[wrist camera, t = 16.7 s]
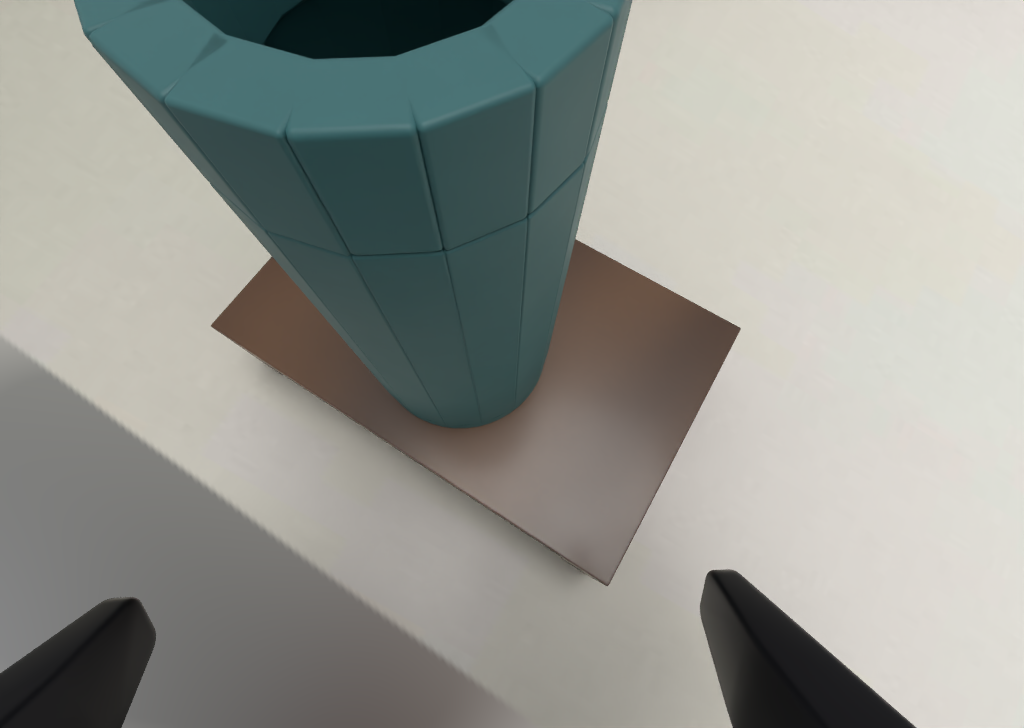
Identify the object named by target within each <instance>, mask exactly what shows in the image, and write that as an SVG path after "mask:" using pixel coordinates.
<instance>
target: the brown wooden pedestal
mask: <svg viewBox="0 0 1024 728" xmlns="http://www.w3.org/2000/svg"><path fill="white" fill-rule="evenodd" d="M211 327H213V328H214V329H215V330H217V331H218V332H220V333H221V334H223V335H224V336H226V337H227V338H229V339H230V340H231V341H233V342H234V343H236V344H237V345H239V346H240V347H242V348H243V349H245V350H246V351H247V352H249V353H250V354H252V355H253V356H255V357H256V358H258V359H259V360H261V361H262V362H263V363H265V364H267V365H268V366H270V367H271V368H273V369H274V370H276V371H277V372H279V373H280V374H282V375H285V376H286V377H288V378H290V379H291V380H293V381H294V382H296V383H297V384H299V385H300V386H302V387H303V388H305V389H306V390H308V391H309V392H311V393H312V394H314V395H315V396H317V397H318V398H320V399H322V400H323V401H325V402H326V403H328V404H329V405H331V406H332V407H334V408H335V409H337V410H338V411H340V412H341V413H343V414H344V415H346V416H347V417H349V418H350V419H352V420H354V421H355V422H357V423H358V424H360V425H361V426H363V427H364V428H366V429H367V430H369V431H370V432H372V433H373V434H375V435H376V436H378V437H379V438H381V439H382V440H384V441H386V442H387V443H389V444H390V445H392V446H393V447H395V448H396V449H398V450H399V451H401V452H402V453H404V454H405V455H407V456H408V457H410V458H411V459H413V460H414V461H416V462H418V463H419V464H421V465H422V466H424V467H425V468H427V469H428V470H430V471H431V472H433V473H434V474H436V475H437V476H439V477H440V478H442V479H443V480H445V481H446V482H448V483H450V484H451V485H453V486H454V487H456V488H457V489H459V490H460V491H462V492H463V493H465V494H466V495H468V496H469V497H471V498H472V499H474V500H475V501H477V502H478V503H480V504H482V505H483V506H485V507H486V508H488V509H489V510H491V511H492V512H494V513H495V514H497V515H498V516H500V517H501V518H503V519H504V520H506V521H507V522H509V523H510V524H512V525H514V526H515V527H517V528H518V529H520V530H521V531H523V532H524V533H526V534H527V535H529V536H530V537H532V538H533V539H535V540H536V541H538V542H539V543H541V544H542V545H544V546H546V547H547V548H549V549H550V550H552V551H553V552H555V553H556V554H558V555H559V556H561V558H562V559H563V560H565V561H566V562H568V563H570V564H571V565H573V566H574V567H576V568H577V569H579V570H580V571H582V572H583V573H585V574H586V575H588V576H590V577H592V578H593V579H595V580H597V581H599V582H600V583H602V584H604V585H606V586H608V585H609V584H610V582H611V580H612V578H613V576H614V574H615V572H616V570H617V568H618V566H619V564H620V562H621V560H622V558H623V556H624V554H625V553H626V551H627V549H628V547H629V545H630V543H631V541H632V539H633V537H634V535H635V533H636V531H637V529H638V527H639V525H640V523H641V522H642V520H643V518H644V516H645V514H646V512H647V510H648V508H649V506H650V504H651V502H652V500H653V498H654V496H655V494H656V492H657V490H658V489H659V487H660V485H661V483H662V481H663V479H664V477H665V475H666V473H667V471H668V469H669V467H670V465H671V463H672V461H673V459H674V458H675V456H676V454H677V452H678V450H679V448H680V446H681V444H682V442H683V440H684V438H685V436H686V434H687V432H688V430H689V428H690V426H691V425H692V423H693V421H694V419H695V417H696V415H697V413H698V411H699V409H700V407H701V405H702V403H703V401H704V399H705V397H706V395H707V394H708V392H709V390H710V388H711V386H712V384H713V382H714V380H715V378H716V376H717V374H718V372H719V370H720V368H721V366H722V364H723V362H724V361H725V359H726V357H727V355H728V353H729V351H730V349H731V347H732V345H733V343H734V341H735V339H736V337H737V335H738V333H739V331H740V329H741V328H739V327H737V326H736V325H734V324H732V323H730V322H728V321H726V320H724V319H723V318H721V317H719V316H717V315H715V314H713V313H711V312H710V311H708V310H706V309H704V308H702V307H700V306H698V305H697V304H695V303H693V302H691V301H689V300H687V299H685V298H684V297H682V296H680V295H678V294H676V293H674V292H672V291H671V290H669V289H667V288H665V287H663V286H661V285H659V284H658V283H656V282H654V281H652V280H650V279H648V278H646V277H645V276H643V275H641V274H639V273H637V272H635V271H633V270H632V269H630V268H628V267H626V266H624V265H622V264H620V263H619V262H617V261H615V260H613V259H611V258H609V257H607V256H606V255H604V254H602V253H600V252H598V251H596V250H594V249H592V248H591V247H589V246H587V245H585V244H583V243H581V242H579V241H578V240H576V239H575V242H574V246H573V250H572V254H571V258H570V262H569V267H568V271H567V275H566V279H565V283H564V287H563V291H562V296H561V300H560V304H559V308H558V312H557V316H556V321H555V325H554V329H553V333H552V337H551V341H550V346H549V350H548V353H547V356H546V359H545V362H544V366H543V369H542V373H541V375H540V378H539V380H538V382H537V384H536V386H535V387H534V389H533V391H532V392H531V393H530V395H529V396H528V397H527V398H526V400H525V401H524V402H523V403H522V404H521V405H520V406H519V407H517V408H516V409H515V410H513V411H512V412H511V413H509V414H508V415H506V416H504V417H503V418H501V419H499V420H497V421H494V422H492V423H489V424H486V425H482V426H478V427H471V428H449V427H442V426H439V425H435V424H431V423H429V422H427V421H424V420H422V419H420V418H418V417H417V416H415V415H413V414H412V413H410V412H409V411H408V410H407V409H405V408H404V407H403V406H402V405H401V404H400V403H399V402H398V401H397V400H396V399H395V398H394V397H393V396H392V395H391V394H390V393H389V392H388V391H387V390H386V389H385V388H384V386H383V385H382V384H381V383H380V382H379V381H378V379H377V378H376V377H375V376H374V375H373V374H372V372H371V371H370V370H369V369H368V368H367V367H366V365H365V364H364V363H363V362H362V361H361V360H360V358H359V357H358V356H357V355H356V354H355V353H354V351H353V350H352V349H351V348H350V347H349V346H348V344H347V343H346V342H345V341H344V340H343V339H342V337H341V336H340V335H339V334H338V333H337V332H336V330H335V329H334V328H333V327H332V326H331V325H330V323H329V322H328V321H327V320H326V319H325V318H324V316H323V315H322V314H321V313H320V312H319V311H318V309H317V308H316V307H315V306H314V305H313V304H312V302H311V301H310V300H309V299H308V298H307V297H306V295H305V294H304V293H303V292H302V291H301V289H300V288H299V287H298V286H297V285H296V284H295V282H294V281H293V280H292V279H291V278H290V277H289V275H288V274H287V273H286V272H285V271H284V270H283V268H282V267H281V266H280V265H279V264H278V263H277V261H276V260H275V259H274V258H273V257H271V258H270V259H269V261H268V262H267V263H266V264H265V265H264V266H263V267H262V268H261V270H260V271H259V272H258V273H257V274H256V275H255V276H254V277H253V279H252V280H251V281H250V282H249V283H248V284H247V285H246V286H245V288H244V289H243V290H242V291H241V292H240V293H239V294H238V295H237V297H236V298H235V299H234V300H233V301H232V302H231V303H230V304H229V306H228V307H227V308H226V309H225V310H224V311H223V312H222V313H221V315H220V316H219V317H218V318H217V319H216V320H215V321H214V322H213V324H212V325H211Z"/></svg>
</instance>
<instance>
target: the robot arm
mask: <svg viewBox="0 0 1024 728" xmlns="http://www.w3.org/2000/svg"><path fill="white" fill-rule="evenodd" d="M700 614H701V619H702V623H703V627H704V630H705V634H706V637H707V641H708V644H709V648H710V651H711V655H712V658H713V662H714V665H715V669H716V672H717V676H718V679H719V683H720V686H721V690H722V693H723V697H724V700H725V704H726V707H727V711H728V714H729V717H730V720H731V724H732V726H733V728H916V727H915V726H914V725H913V724H911V723H910V722H909V721H908V720H907V719H906V718H905V717H903V716H902V715H901V714H900V713H899V712H898V711H897V710H895V709H894V708H893V707H892V706H891V705H890V704H889V703H887V702H886V701H885V700H884V699H883V698H882V697H881V696H879V695H878V694H877V693H876V692H875V691H874V690H872V689H871V688H870V687H869V686H868V685H867V684H866V683H864V682H863V681H862V680H861V679H860V678H859V677H858V676H856V675H855V674H854V673H853V672H852V671H851V670H850V669H848V668H847V667H846V666H845V665H844V664H843V663H842V662H840V661H839V660H838V659H837V658H836V657H835V656H833V655H832V654H831V653H830V652H829V651H828V650H827V649H825V648H824V647H823V646H822V645H821V644H820V643H819V642H817V641H816V640H815V639H814V638H813V637H812V636H811V635H809V634H808V633H807V632H806V631H805V630H804V629H803V628H801V627H800V626H799V625H798V624H797V623H796V622H794V621H793V620H792V619H791V618H790V617H789V616H788V615H786V614H785V613H784V612H783V611H782V610H781V609H780V608H778V607H777V606H776V605H775V604H774V603H773V602H772V601H770V600H769V599H768V598H767V597H766V596H765V595H764V594H762V593H761V592H760V591H759V590H758V589H757V588H755V587H754V586H753V585H752V584H751V583H750V582H749V581H747V580H746V579H745V578H744V577H743V576H742V575H741V574H739V573H738V572H736V571H734V570H712V571H710V572H708V574H707V576H706V580H705V584H704V589H703V594H702V598H701V603H700ZM155 641H156V632H155V628H154V626H153V624H152V622H151V621H150V619H149V617H148V615H147V613H146V611H145V609H144V607H143V605H142V603H141V602H140V600H139V599H137V598H134V597H125V598H111V599H107V600H105V601H103V602H101V603H100V604H98V605H97V606H95V607H94V608H92V609H91V610H90V611H88V612H87V613H86V614H84V615H83V616H81V617H80V618H78V619H77V620H75V621H74V622H73V623H71V624H70V625H68V626H67V627H66V628H64V629H63V630H61V631H60V632H59V633H57V634H56V635H54V636H53V637H51V638H50V639H49V640H47V641H46V642H44V643H43V644H42V645H40V646H39V647H37V648H36V649H34V650H33V651H32V652H30V653H29V654H27V655H26V656H25V657H23V658H22V659H20V660H19V661H17V662H16V663H15V664H13V665H12V666H10V667H9V668H7V669H6V670H5V671H3V672H2V673H0V728H121V727H122V724H123V722H124V720H125V717H126V714H127V712H128V710H129V707H130V705H131V703H132V700H133V698H134V695H135V693H136V690H137V688H138V685H139V683H140V680H141V677H142V676H143V673H144V671H145V668H146V665H147V663H148V661H149V658H150V656H151V653H152V651H153V648H154V645H155Z"/></svg>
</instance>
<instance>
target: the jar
mask: <svg viewBox="0 0 1024 728" xmlns="http://www.w3.org/2000/svg"><path fill="white" fill-rule="evenodd" d="M74 2H75V6H76V9H77V12H78V15H79V19H80V22H81V25H82V29H83V32H84V34H85V36H86V37H87V38H88V40H89V41H90V42H91V43H92V45H93V47H94V48H95V49H96V50H97V52H98V53H99V54H100V55H101V56H102V57H103V59H104V60H105V61H106V62H107V63H108V64H109V66H110V67H111V68H112V69H113V70H114V71H115V73H116V74H117V75H118V76H119V77H120V78H121V80H122V81H123V82H124V83H125V84H126V86H127V87H128V88H129V89H130V90H131V91H132V93H133V94H134V95H135V96H136V97H137V98H138V100H139V101H140V102H141V103H142V104H143V105H144V107H145V108H146V109H147V110H148V111H149V112H150V114H151V115H152V116H153V117H154V118H155V119H156V121H157V122H158V123H159V124H160V125H161V126H162V128H163V129H164V130H165V131H166V132H167V133H168V135H169V136H170V137H171V138H172V139H173V141H174V142H175V143H176V144H177V145H178V146H179V148H180V149H181V150H182V151H183V152H184V153H185V155H186V156H187V157H188V158H189V159H190V160H191V162H192V163H193V164H194V165H195V166H196V167H197V169H198V170H199V171H200V172H201V173H202V174H203V176H204V177H205V178H206V179H207V180H208V181H209V182H210V184H211V185H212V187H213V188H214V189H215V190H216V191H217V192H218V194H219V195H220V196H221V197H222V198H223V200H224V201H225V202H226V203H227V204H228V205H229V207H230V208H231V209H232V210H233V211H234V212H235V214H236V215H237V216H238V217H239V218H240V219H241V221H242V222H243V223H244V224H245V225H246V226H247V228H248V229H249V230H250V231H251V232H252V233H253V235H254V236H255V237H256V238H257V239H258V240H259V242H260V243H261V244H262V245H263V246H264V247H265V249H266V250H267V251H268V252H269V253H270V254H271V256H272V257H273V258H274V259H275V260H276V261H277V263H278V264H279V265H280V266H281V267H282V268H283V270H284V271H285V272H286V273H287V274H288V275H289V277H290V278H291V279H292V280H293V281H294V282H295V284H296V285H297V286H298V287H299V288H300V289H301V291H302V292H303V293H304V294H305V295H306V297H307V298H308V299H309V300H310V301H311V302H312V304H313V305H314V306H315V307H316V308H317V309H318V311H319V312H320V313H321V314H322V315H323V316H324V318H325V319H326V320H327V321H328V322H329V323H330V325H331V326H332V327H333V328H334V329H335V330H336V332H337V333H338V334H339V335H340V336H341V337H342V339H343V340H344V341H345V342H346V343H347V344H348V346H349V347H350V348H351V349H352V350H353V351H354V353H355V354H356V355H357V356H358V357H359V358H360V360H361V361H362V362H363V363H364V364H365V365H366V367H367V368H368V369H369V370H370V371H371V372H372V374H373V375H374V376H375V377H376V378H377V379H378V381H379V382H380V383H381V384H382V385H383V386H384V388H385V389H386V390H387V391H388V392H389V393H390V394H391V395H392V396H393V397H394V398H395V399H396V400H397V401H398V402H399V403H400V404H401V405H402V406H403V407H404V408H405V409H407V410H408V411H409V412H410V413H412V414H413V415H415V416H417V417H418V418H420V419H422V420H424V421H427V422H429V423H431V424H435V425H439V426H442V427H449V428H471V427H478V426H482V425H486V424H489V423H492V422H494V421H497V420H499V419H501V418H503V417H504V416H506V415H508V414H509V413H511V412H512V411H513V410H515V409H516V408H517V407H519V406H520V405H521V404H522V403H523V402H524V401H525V400H526V398H527V397H528V396H529V395H530V393H531V392H532V391H533V389H534V387H535V386H536V384H537V382H538V380H539V378H540V375H541V373H542V369H543V366H544V362H545V359H546V356H547V353H548V350H549V346H550V341H551V337H552V333H553V329H554V325H555V321H556V316H557V312H558V308H559V304H560V300H561V296H562V291H563V287H564V283H565V279H566V275H567V271H568V267H569V262H570V258H571V254H572V250H573V246H574V242H575V237H576V233H577V229H578V225H579V221H580V217H581V213H582V208H583V204H584V200H585V196H586V192H587V188H588V183H589V179H590V175H591V171H592V167H593V163H594V158H595V154H596V150H597V146H598V142H599V138H600V134H601V129H602V125H603V121H604V117H605V113H606V109H607V102H608V99H609V95H610V91H611V87H612V83H613V79H614V74H615V70H616V66H617V62H618V58H619V54H620V49H621V45H622V41H623V37H624V33H625V29H626V24H627V20H628V16H629V12H630V8H631V4H632V0H74Z"/></svg>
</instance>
